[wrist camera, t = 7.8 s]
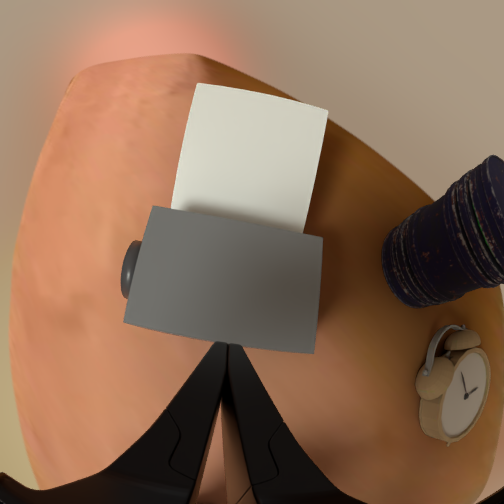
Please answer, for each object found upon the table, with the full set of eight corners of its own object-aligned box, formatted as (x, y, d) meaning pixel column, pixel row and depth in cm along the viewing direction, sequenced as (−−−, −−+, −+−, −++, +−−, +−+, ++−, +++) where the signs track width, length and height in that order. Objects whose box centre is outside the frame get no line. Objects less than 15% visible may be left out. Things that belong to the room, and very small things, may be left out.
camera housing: (287, 352, 22) (313, 353, 16) (130, 324, 21) (106, 317, 15) (297, 262, 25) (323, 237, 19) (151, 235, 23) (137, 203, 18)
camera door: (297, 252, 23) (328, 110, 20) (167, 228, 22) (197, 83, 19) (293, 247, 25) (322, 114, 22) (172, 224, 24) (200, 89, 21)
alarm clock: (445, 461, 17) (430, 369, 18) (418, 449, 22) (394, 362, 22) (494, 396, 20) (483, 300, 21) (468, 391, 25) (451, 302, 26)
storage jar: (366, 235, 27) (469, 153, 13) (420, 216, 29) (505, 152, 15) (401, 324, 24) (527, 292, 10) (451, 290, 27) (548, 250, 13)
